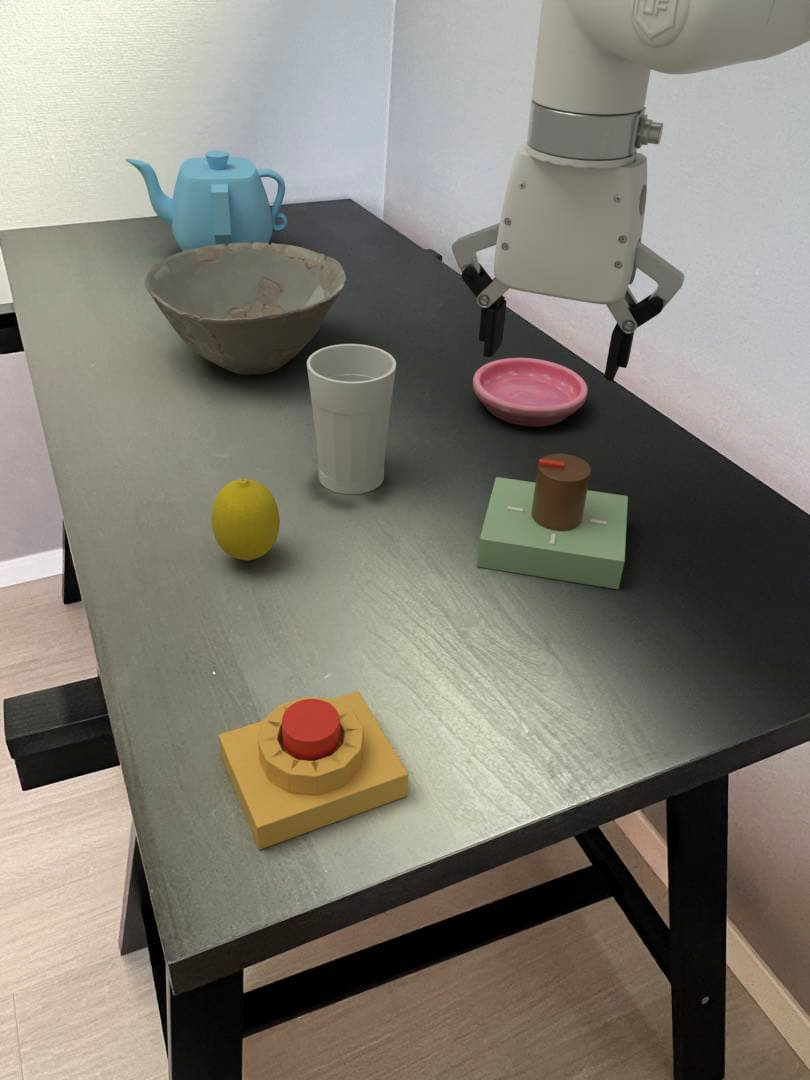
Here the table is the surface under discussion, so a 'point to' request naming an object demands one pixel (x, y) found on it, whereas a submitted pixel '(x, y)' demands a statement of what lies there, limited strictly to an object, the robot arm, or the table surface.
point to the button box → (311, 773)
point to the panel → (554, 538)
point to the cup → (351, 414)
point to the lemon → (245, 519)
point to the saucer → (529, 391)
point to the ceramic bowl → (246, 301)
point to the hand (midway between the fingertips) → (551, 361)
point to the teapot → (216, 201)
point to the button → (311, 729)
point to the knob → (560, 491)
